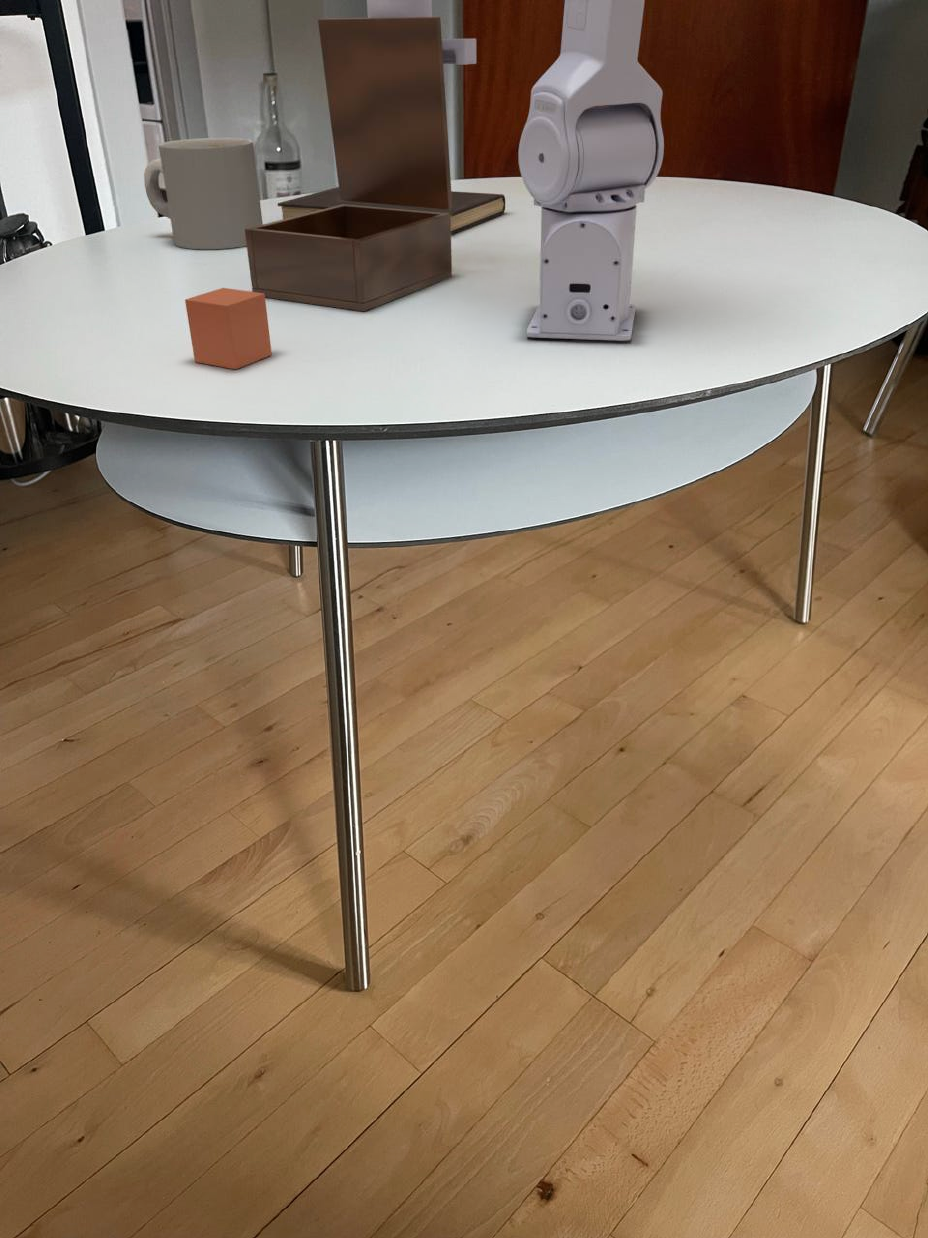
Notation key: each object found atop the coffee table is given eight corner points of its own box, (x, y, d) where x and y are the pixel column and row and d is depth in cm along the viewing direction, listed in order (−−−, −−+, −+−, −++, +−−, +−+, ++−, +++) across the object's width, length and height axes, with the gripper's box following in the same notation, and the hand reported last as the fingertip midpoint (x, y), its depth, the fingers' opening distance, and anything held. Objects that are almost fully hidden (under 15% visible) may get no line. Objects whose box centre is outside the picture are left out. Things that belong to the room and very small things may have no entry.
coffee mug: (282, 236, 113) (272, 139, 108) (221, 252, 106) (206, 149, 101) (197, 226, 119) (183, 134, 114) (134, 241, 112) (116, 143, 107)
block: (272, 355, 74) (265, 293, 71) (235, 369, 71) (227, 305, 68) (231, 347, 75) (223, 287, 73) (194, 361, 72) (184, 299, 70)
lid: (436, 17, 82) (440, 16, 83) (317, 19, 88) (322, 18, 88) (448, 209, 91) (452, 207, 91) (340, 200, 96) (344, 198, 97)
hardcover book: (448, 236, 112) (448, 214, 110) (279, 223, 120) (277, 202, 119) (505, 213, 124) (505, 193, 123) (348, 202, 132) (347, 184, 131)
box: (364, 311, 84) (359, 240, 81) (252, 295, 89) (244, 228, 86) (452, 276, 94) (450, 213, 91) (347, 264, 100) (342, 203, 97)
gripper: (493, -22, 86) (493, 150, 93) (357, -17, 92) (367, 143, 99) (451, -23, 81) (454, 159, 88) (310, -18, 87) (324, 151, 94)
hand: (405, 151), depth 93 cm, fingers closed, pressing on lid
